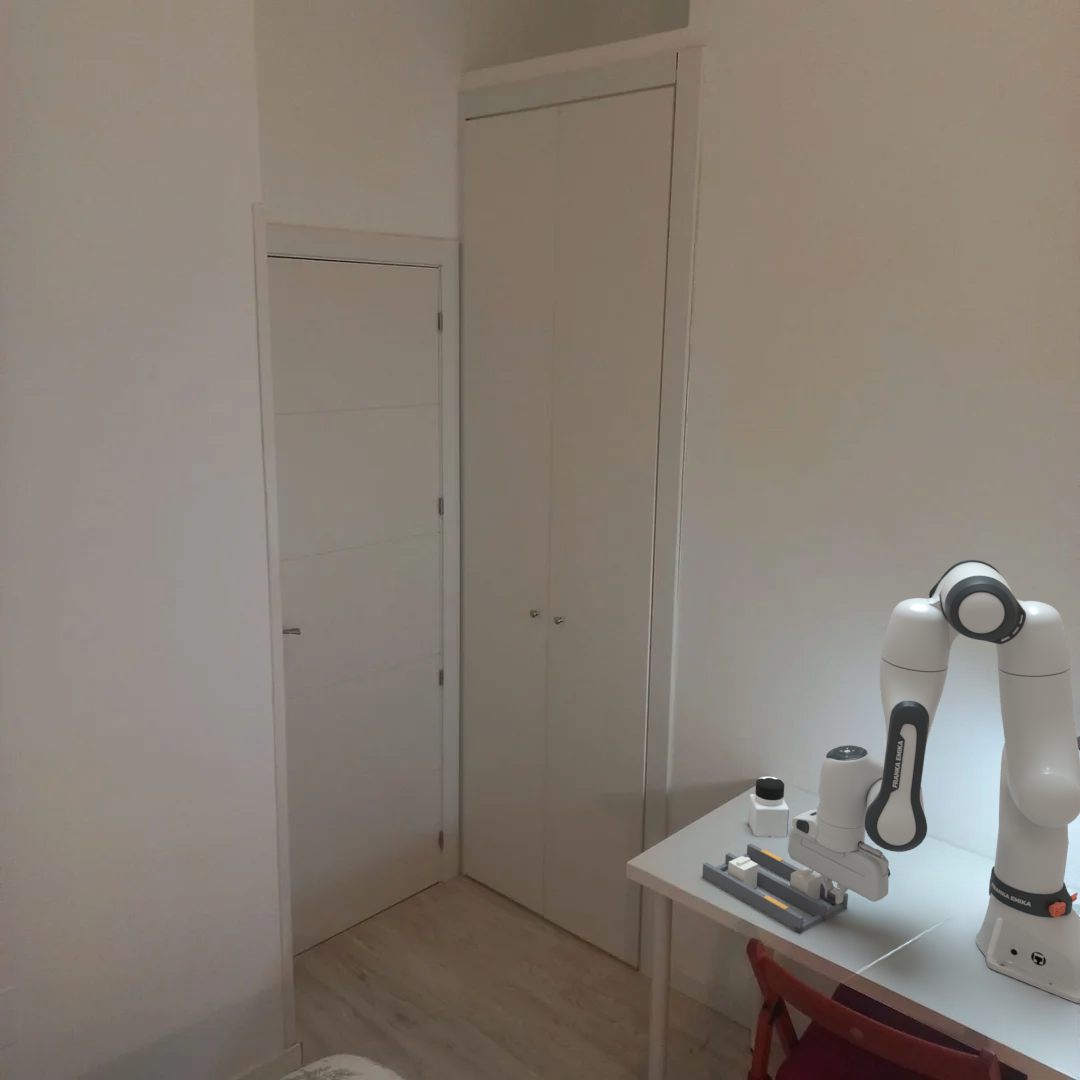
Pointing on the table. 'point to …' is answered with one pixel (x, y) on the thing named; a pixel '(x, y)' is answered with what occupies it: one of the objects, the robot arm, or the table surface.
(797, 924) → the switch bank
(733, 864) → the white boxy block
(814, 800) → the table surface
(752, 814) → the medicine bottle
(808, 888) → the white rectangular block
